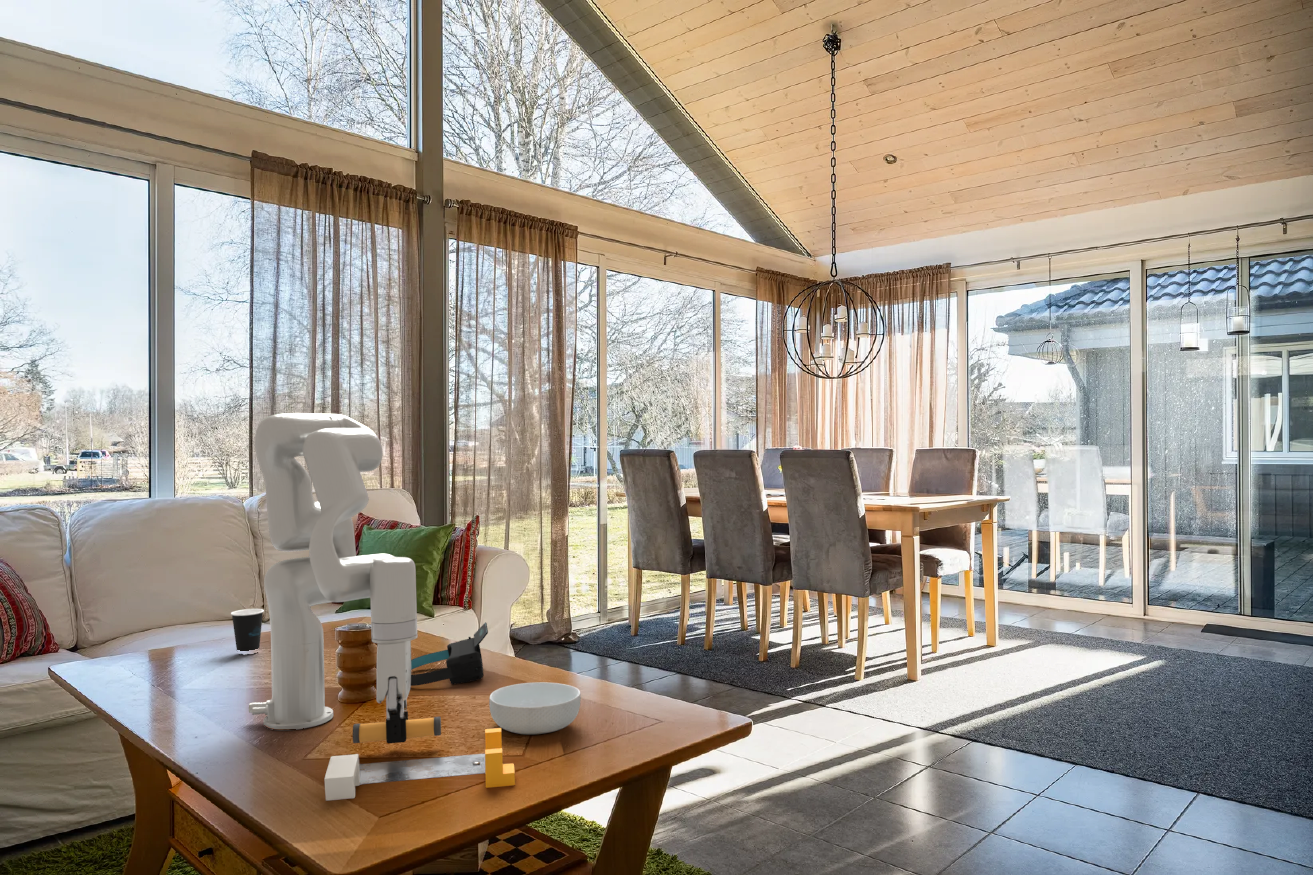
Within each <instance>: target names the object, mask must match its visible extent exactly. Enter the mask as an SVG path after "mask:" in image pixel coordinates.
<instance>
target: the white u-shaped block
mask: <svg viewBox="0 0 1313 875" xmlns="http://www.w3.org/2000/svg"><path fill="white" fill-rule="evenodd" d="M359 755H360V754H359V753H355V754H342V755H332V756H330V759H329V762H328V766H327V769H326V773H325V776H324V779H323V780H324V793H325V794H324V795H325V802H326V801H338V800H347V799H355V797H356V787H358V786H360V785H361V784H360V770H359V764H360V756H359Z"/></svg>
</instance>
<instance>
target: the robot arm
mask: <svg viewBox="0 0 1313 875" xmlns="http://www.w3.org/2000/svg"><path fill="white" fill-rule="evenodd" d="M254 452H255V456H256V459H257V463H258V465H259V468H260V471H261V474H262V477H263V480H264V486H265V499H266V500H265V501H266V502H265V503H266V513H267V524H268V525H267V527H268V534H269V535H268V536H269V539H270V543H271V546H272V547H273V548H274V549H275V550H277V551H280V552H286V553H287V552H301V551H303V552H304V551H308V555H309V556H305V557H303V556H302V557H296V558H289V559H285V560H284V559H283V560H281V561H279V562H276V563H274V564H272V565H271V566H270V567H269V568H268V569H267V570H266V572H265V575H264V580H263V587H264V593H265V596H266V601H267V607H268V614H269V623H270V624H269V625H270V656H271V657H270V658H271V659H270V660H271V661H270V663H271V664H270V666H271V699H267V700H266V701H264V702H260V701H258V702H257V701H256V702H249V704H248V713H250V714H251V715H253V716H254V715H255V716H256V715H263V714H264V715H265V717H264V718H263V726H264V725H266V726H268V727H270V728H274V729H296V730H302V729H303V728H304V729H308V728H313V727H316V726H319V725H323V724H324V723H325V724H326V723H327V722H329V721H330V720H332V719H333V717H334V710H333V709H332V708H331V707H330V706H325V703H326V702H325V699H326V698H325V656H324V655H325V653H324V652H325V650H324V649H325V646H324V644H325V643H324V628H323V624H322V622H321V620H320V618H318V616H317V615H316V614H315V613H314V611H313V610H312V608H311V607H313V606H317V605H322V604H328V603H344V602H350V601H355V600H362V599H370V621H371V622H370V623H371V625H370V626H371V631H370V632H371V642H372V643H374V644H377V647H376V648H377V649H376V698H375V700H376V701H375V702H377V703H378V704H382V702H384V700H385V705H386V708H385V710H386V712H385V713H386V718H385V722H386V740H385V741H386V744H389V745H390V744H400V743H401V744H402V743H406V741H407V738H406V720H409V711H408V707H407V706H408V703H407V699H408V697H409V694H410V690H411V687H412V686H411V675H412V670H411V660H412V645H411V644H412V641H414V640H415V639H418V611H417V609H418V608H417V606H418V605H417V576H416V575H417V571H416V564H415V561H414V560H413V559H412V558H410V557H407V556H395V555H392V554H389V553H371V554H362V555H361V554H360V555H357V553H356V552H357V551H356V539H355V529H354V528H355V527H354V521H353V517H355V516H356V515H358V514H359V513H361V512H362V511H364V509H365V508H366V507H367V505H368V504H369V500H370V499H369V498H370V497H369V493H368V491H367V488H366V485H365V483H364V480H363V477H362V473H364V472H365V473H366V472H372V471H374V470H376V469H377V468H378V467H380V466H381V463H382V460H383V456H384V454H383V453H384V452H383V446H382V442H381V440H380V439H379V436H378V435H377V434H376V433H375V431H374V430H372V428H369V427H368V426H367V425H364V424H362V423H360V422H359V421H357V420H355V419H353V418H351V417H349V416H348V415H347V416H346V415H343V414H339V413H309V412H308V413H307V412H286V413H282V412H281V413H277V414H272V415H269V416H266V417H264V418H263V419H262V420H261V421H260V422H259V424H258V426H257V428H256V430H255V435H254ZM296 457H304V460H305V463H306V466H307V470H308V471H307V470H306V468H305V467H304V466H303V465H302V463H301V462H300V461H298V459H297V458H296ZM361 472H362V473H361ZM313 489H314V492H315V495H316V499H317V501H315V499H314V493H313Z"/></svg>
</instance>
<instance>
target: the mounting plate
mask: <svg viewBox="0 0 1313 875" xmlns="http://www.w3.org/2000/svg"><path fill="white" fill-rule="evenodd" d="M359 770H360V785H368V784H379V783H391V782H402V781H403V782H404V781H412V780H423V779H434V778H435V779H437V778H446V777H458V776H468V775H480V774H481V775H482V774H485V753H475V754H464V755H452V756H443V757H429V758H420V759H419V758H418V759H408V760H407V759H406V760H404V759H403V760H393V761H392V760H391V761H382V762H371V763H359Z"/></svg>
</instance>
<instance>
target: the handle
mask: <svg viewBox="0 0 1313 875" xmlns="http://www.w3.org/2000/svg"><path fill="white" fill-rule="evenodd" d="M437 736H442V719H441V716H434V717H426V718H415V719H408V720H406V739H415V738H425V737H426V738H427V737H437ZM382 741H386V721H382V722H369V723H354V724H353V726H352V743H353V744H359V743H360V744H361V743H371V742H373V743H374V742H382Z"/></svg>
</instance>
